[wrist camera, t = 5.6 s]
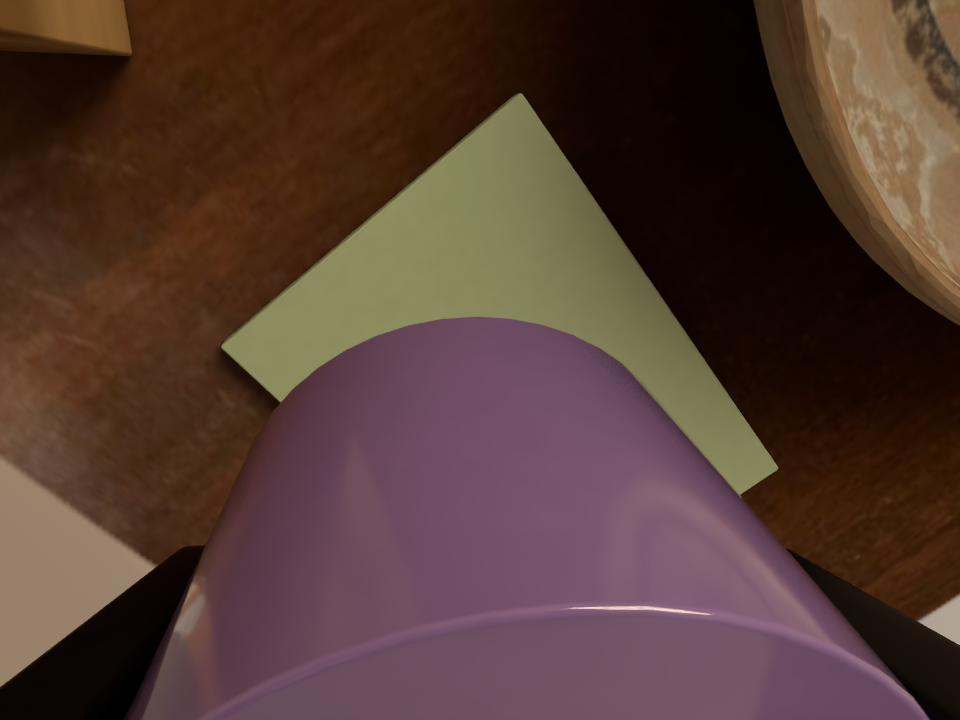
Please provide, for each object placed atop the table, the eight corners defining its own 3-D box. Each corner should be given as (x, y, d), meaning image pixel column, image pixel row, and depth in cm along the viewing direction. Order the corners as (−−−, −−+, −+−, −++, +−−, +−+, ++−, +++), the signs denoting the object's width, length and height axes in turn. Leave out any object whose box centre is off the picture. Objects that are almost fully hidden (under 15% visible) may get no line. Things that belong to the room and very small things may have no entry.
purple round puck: (261, 704, 9) (134, 1214, 5) (204, 316, 7) (-123, 649, 3) (653, 676, 10) (837, 1102, 6) (722, 313, 7) (1121, 576, 3)
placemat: (225, 339, 17) (219, 347, 16) (517, 91, 15) (521, 91, 14) (527, 622, 22) (530, 635, 21) (769, 459, 20) (779, 469, 19)
